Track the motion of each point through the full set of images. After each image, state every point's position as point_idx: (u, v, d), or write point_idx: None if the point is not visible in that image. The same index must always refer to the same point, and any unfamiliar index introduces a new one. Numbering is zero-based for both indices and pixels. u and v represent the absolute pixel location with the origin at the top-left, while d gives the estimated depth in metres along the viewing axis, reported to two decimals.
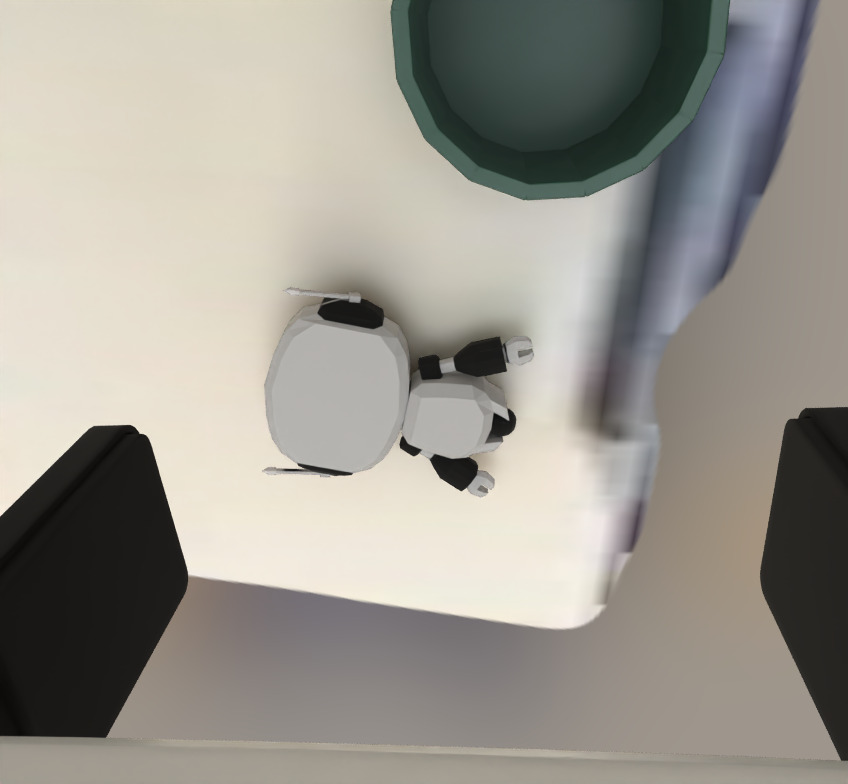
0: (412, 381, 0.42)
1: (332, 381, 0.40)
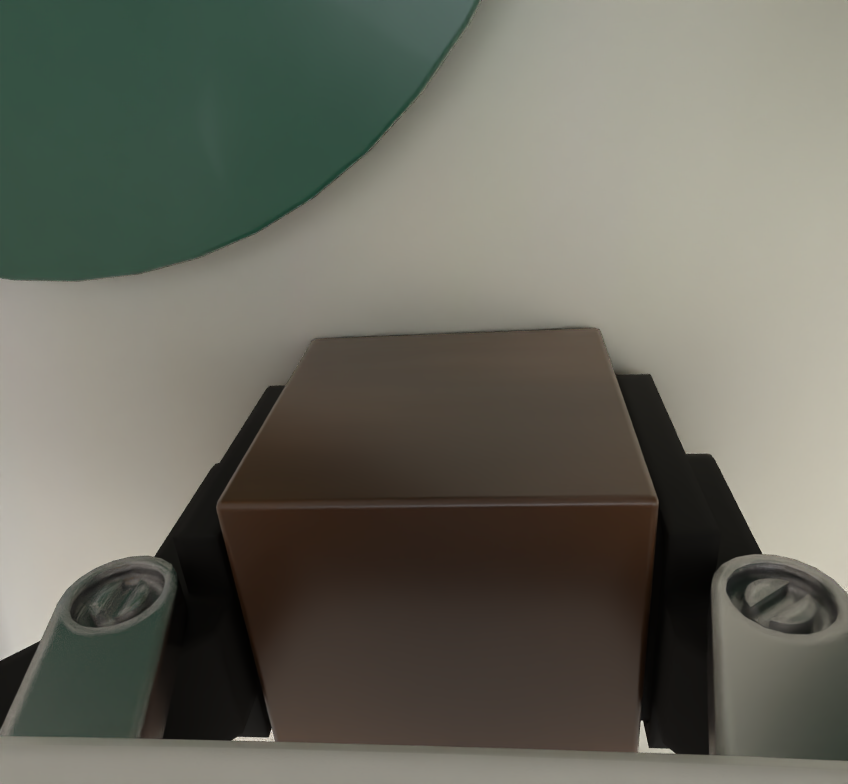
0: None
1: None
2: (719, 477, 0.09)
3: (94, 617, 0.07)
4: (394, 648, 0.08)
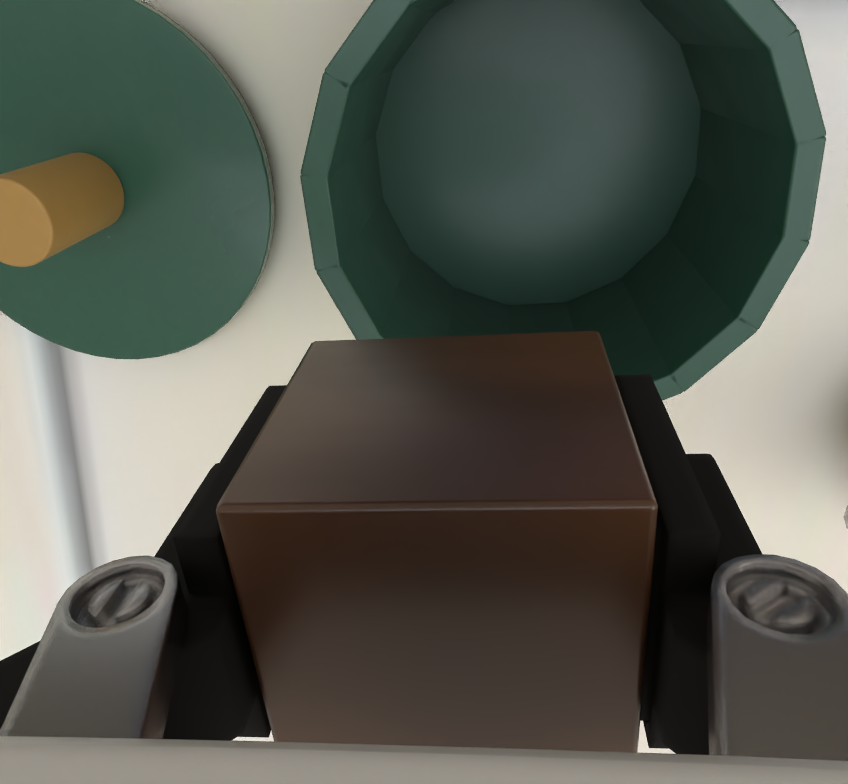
0: None
1: None
2: (719, 477, 0.09)
3: (94, 617, 0.07)
4: (394, 651, 0.08)
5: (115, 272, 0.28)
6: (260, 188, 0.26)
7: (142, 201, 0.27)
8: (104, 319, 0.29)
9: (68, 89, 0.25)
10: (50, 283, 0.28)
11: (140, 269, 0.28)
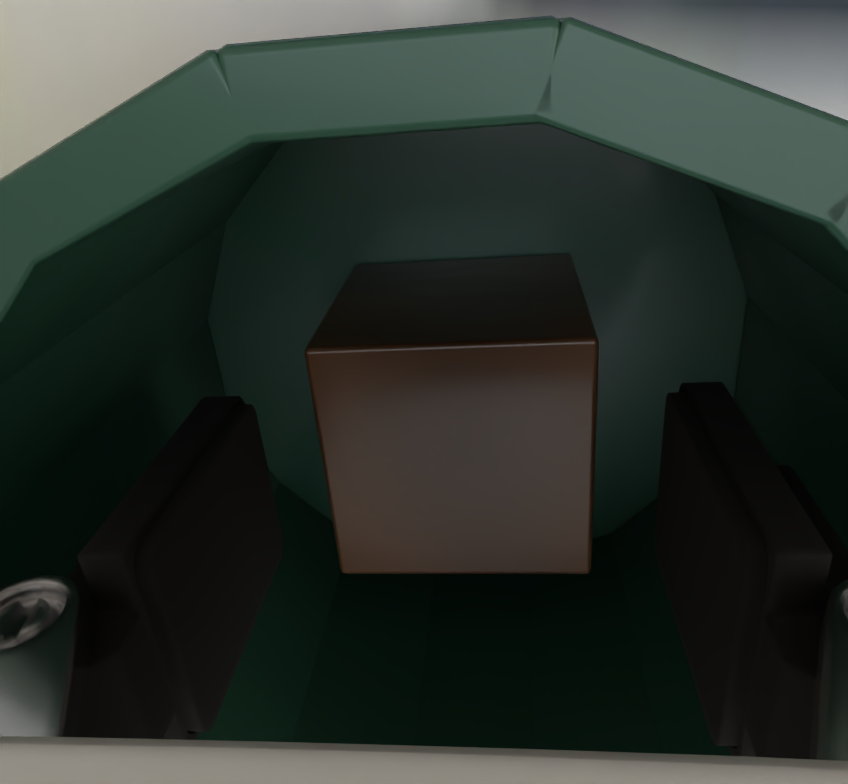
0: None
1: None
2: (802, 490, 0.09)
3: None
4: (422, 456, 0.11)
5: None
6: None
7: None
8: None
9: None
10: None
11: None
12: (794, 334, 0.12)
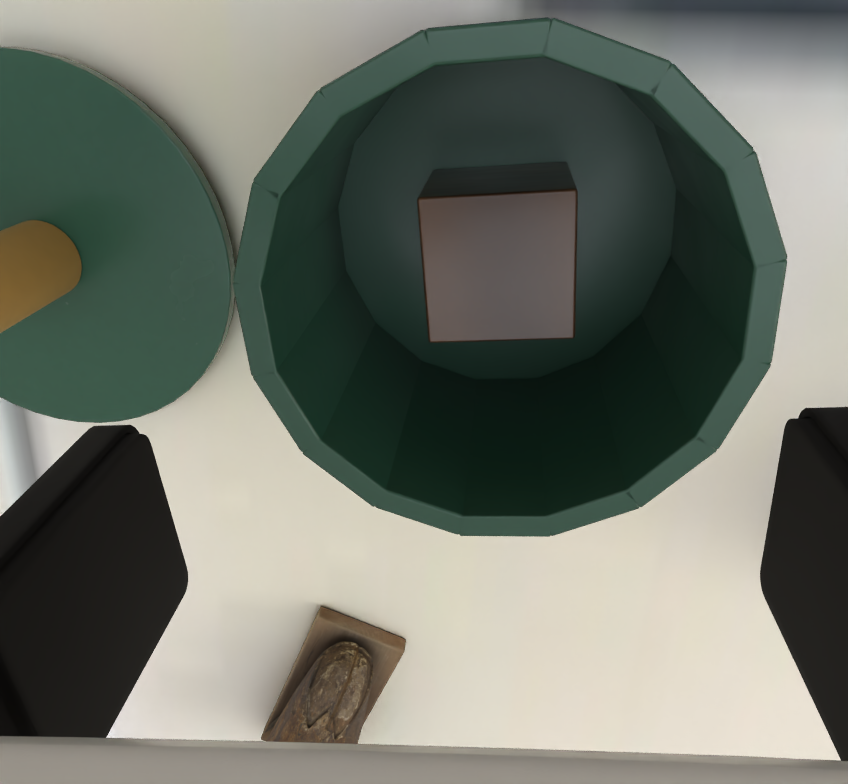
0: None
1: None
2: None
3: None
4: (479, 263, 0.20)
5: (74, 337, 0.27)
6: (219, 259, 0.25)
7: (100, 269, 0.26)
8: (64, 383, 0.28)
9: (21, 158, 0.24)
10: (9, 346, 0.28)
11: (99, 335, 0.27)
12: (691, 197, 0.21)
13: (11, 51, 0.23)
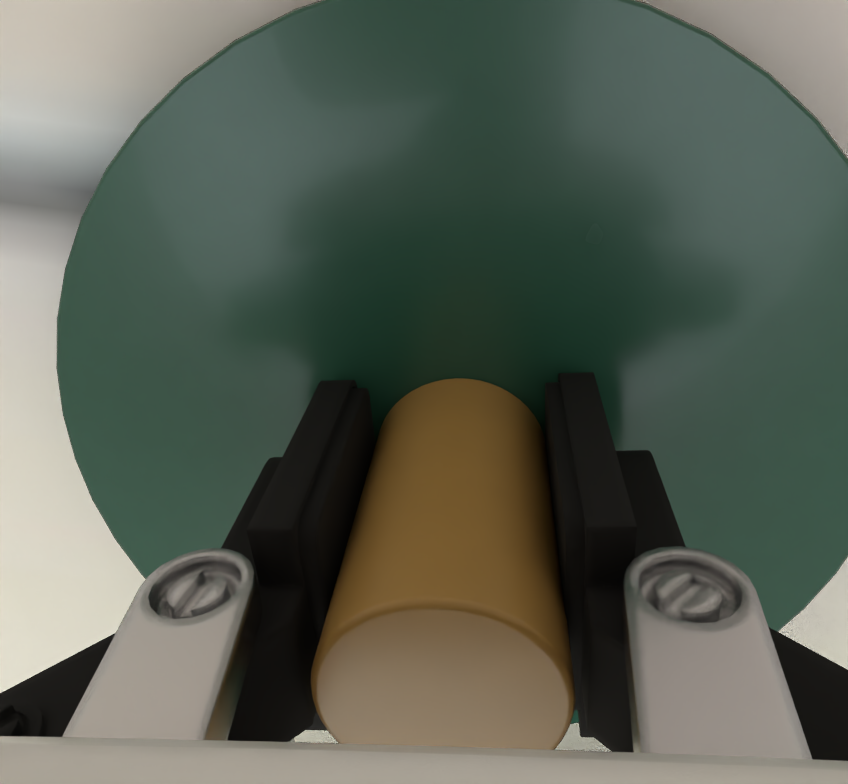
0: None
1: None
2: (654, 472, 0.10)
3: (174, 609, 0.07)
4: None
5: None
6: None
7: None
8: (159, 412, 0.12)
9: (675, 464, 0.12)
10: (231, 308, 0.11)
11: None
12: None
13: None
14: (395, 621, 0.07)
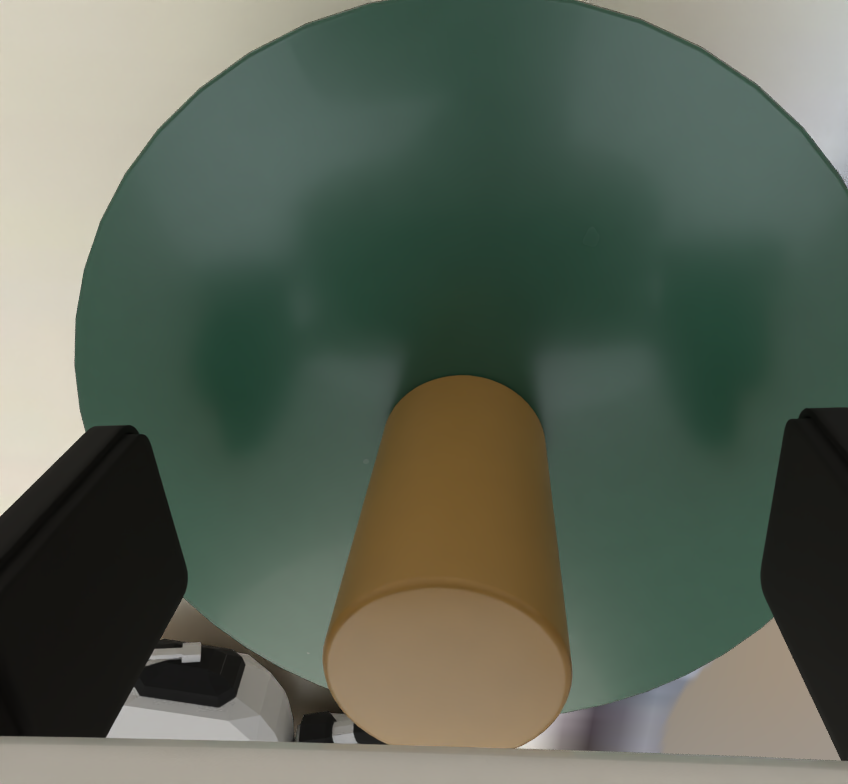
0: None
1: None
2: None
3: None
4: None
5: (288, 456, 0.13)
6: None
7: None
8: (173, 408, 0.13)
9: (669, 458, 0.12)
10: (243, 307, 0.12)
11: (300, 505, 0.13)
12: None
13: None
14: (404, 599, 0.07)
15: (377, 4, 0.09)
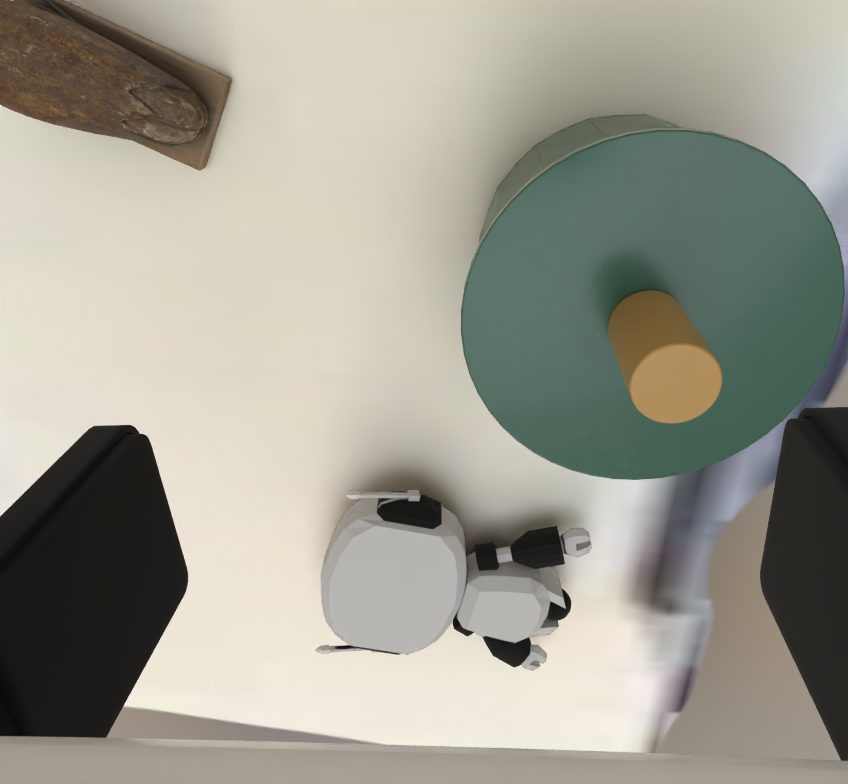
0: (468, 568, 0.42)
1: (390, 575, 0.40)
2: None
3: None
4: None
5: (560, 332, 0.27)
6: (627, 474, 0.30)
7: None
8: (508, 308, 0.27)
9: (742, 329, 0.26)
10: (552, 260, 0.26)
11: (561, 357, 0.27)
12: None
13: (831, 346, 0.26)
14: (667, 351, 0.22)
15: (634, 134, 0.24)
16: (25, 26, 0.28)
